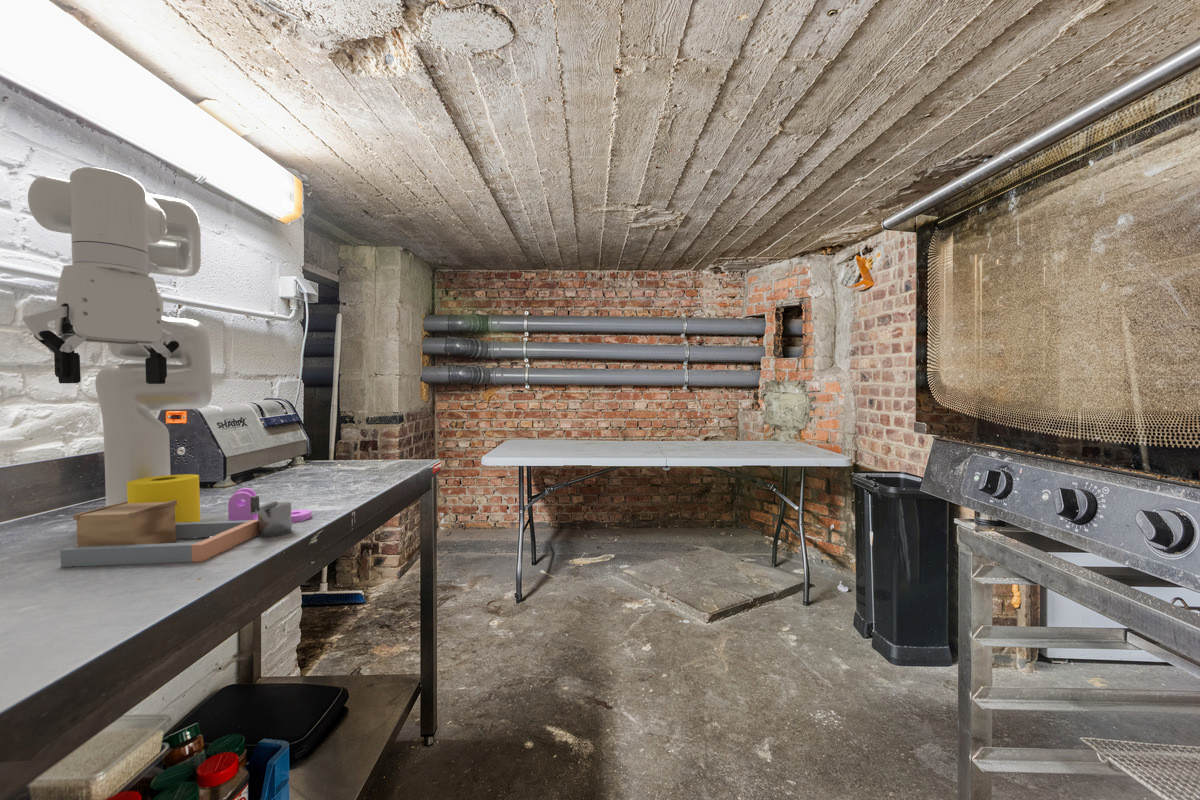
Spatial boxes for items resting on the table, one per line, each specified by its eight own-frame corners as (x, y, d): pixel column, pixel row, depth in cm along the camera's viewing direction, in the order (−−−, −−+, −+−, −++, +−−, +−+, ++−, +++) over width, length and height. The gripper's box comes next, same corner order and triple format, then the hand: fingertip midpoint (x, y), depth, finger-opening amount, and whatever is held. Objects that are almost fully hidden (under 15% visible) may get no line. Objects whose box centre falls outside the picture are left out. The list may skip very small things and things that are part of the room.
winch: (269, 529, 88) (268, 487, 87) (297, 528, 88) (296, 486, 88) (237, 544, 79) (236, 498, 79) (269, 543, 80) (268, 497, 79)
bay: (143, 537, 83) (143, 523, 83) (260, 533, 85) (260, 519, 85) (60, 567, 69) (60, 550, 69) (202, 561, 71) (202, 544, 71)
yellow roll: (203, 518, 96) (202, 472, 96) (196, 530, 88) (195, 479, 88) (135, 526, 91) (134, 478, 90) (121, 540, 82) (120, 486, 82)
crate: (125, 543, 81) (123, 501, 80) (177, 541, 81) (176, 500, 81) (74, 561, 72) (73, 514, 72) (134, 559, 73) (133, 512, 73)
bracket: (228, 531, 87) (227, 494, 87) (233, 524, 92) (232, 488, 92) (311, 521, 94) (310, 486, 94) (311, 515, 99) (310, 481, 99)
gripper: (164, 278, 76) (167, 384, 77) (4, 247, 60) (9, 383, 60) (197, 274, 74) (200, 383, 74) (42, 242, 57) (47, 382, 58)
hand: (115, 383), depth 67 cm, fingers open, 9 cm apart
